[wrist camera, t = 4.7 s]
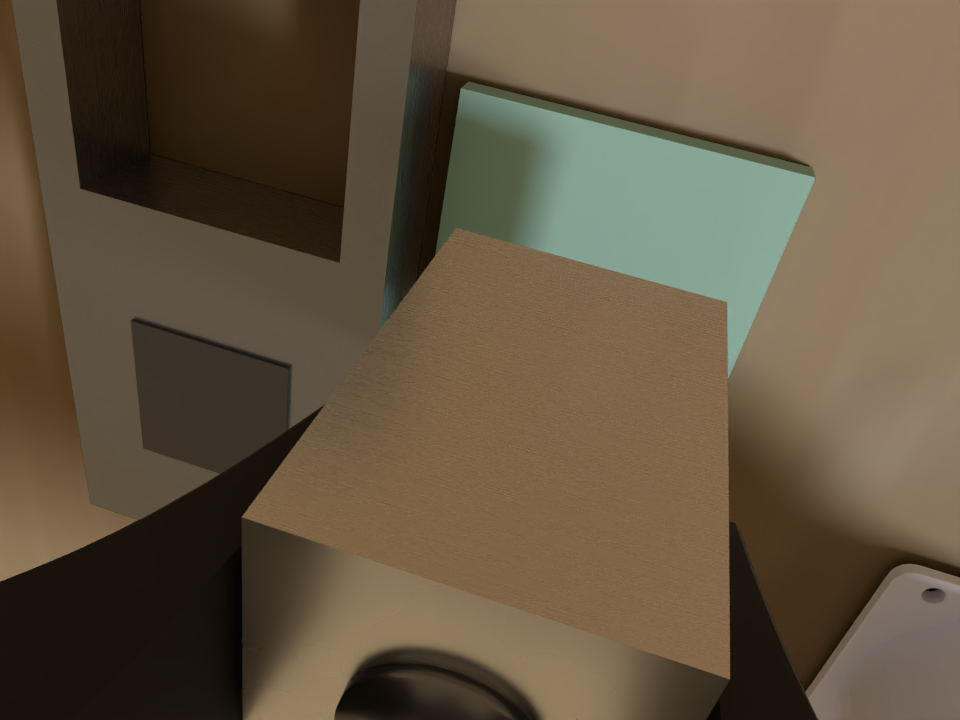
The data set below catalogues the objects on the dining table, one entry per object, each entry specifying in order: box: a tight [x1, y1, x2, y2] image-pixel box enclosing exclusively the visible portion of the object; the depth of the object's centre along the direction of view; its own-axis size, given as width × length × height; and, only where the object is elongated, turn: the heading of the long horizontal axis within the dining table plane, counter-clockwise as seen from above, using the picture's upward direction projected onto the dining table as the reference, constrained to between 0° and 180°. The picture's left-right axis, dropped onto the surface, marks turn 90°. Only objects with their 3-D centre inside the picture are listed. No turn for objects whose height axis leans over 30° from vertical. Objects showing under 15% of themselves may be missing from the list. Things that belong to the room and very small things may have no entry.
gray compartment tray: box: [11, 0, 456, 520], centre depth 17 cm, size 8×20×3 cm, turn 170°
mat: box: [435, 82, 815, 378], centre depth 17 cm, size 7×7×1 cm
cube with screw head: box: [242, 228, 730, 720], centre depth 11 cm, size 4×4×7 cm
